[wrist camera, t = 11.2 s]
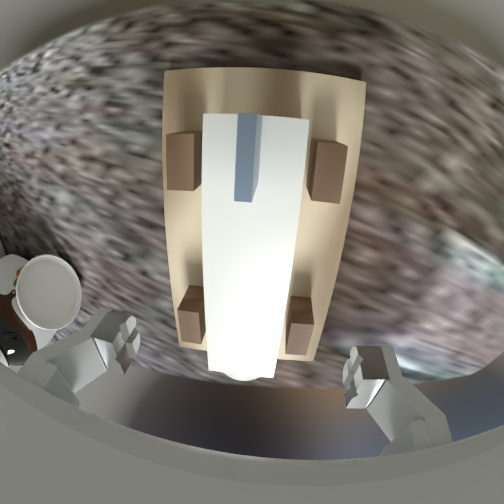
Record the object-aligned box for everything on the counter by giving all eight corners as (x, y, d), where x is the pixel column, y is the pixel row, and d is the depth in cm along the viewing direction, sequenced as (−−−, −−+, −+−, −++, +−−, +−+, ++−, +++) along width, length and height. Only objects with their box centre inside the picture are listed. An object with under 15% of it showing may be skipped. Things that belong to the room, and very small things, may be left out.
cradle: (361, 83, 14) (383, 75, 10) (312, 353, 24) (314, 387, 20) (170, 72, 15) (142, 64, 11) (182, 338, 25) (169, 370, 21)
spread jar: (12, 280, 25) (-43, 334, 15) (18, 209, 20) (-64, 264, 10) (79, 337, 27) (31, 409, 17) (98, 278, 23) (23, 367, 12)
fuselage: (301, 119, 15) (318, 119, 8) (272, 352, 23) (267, 428, 16) (223, 114, 15) (179, 112, 8) (220, 346, 23) (202, 419, 17)
